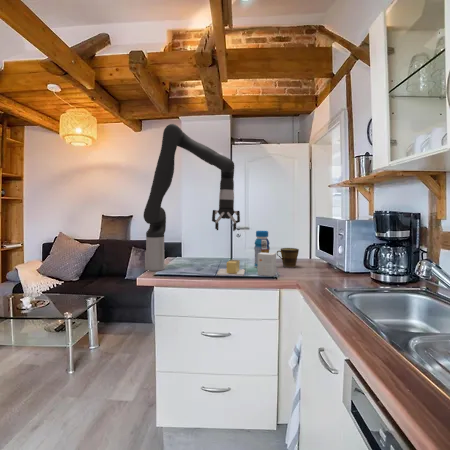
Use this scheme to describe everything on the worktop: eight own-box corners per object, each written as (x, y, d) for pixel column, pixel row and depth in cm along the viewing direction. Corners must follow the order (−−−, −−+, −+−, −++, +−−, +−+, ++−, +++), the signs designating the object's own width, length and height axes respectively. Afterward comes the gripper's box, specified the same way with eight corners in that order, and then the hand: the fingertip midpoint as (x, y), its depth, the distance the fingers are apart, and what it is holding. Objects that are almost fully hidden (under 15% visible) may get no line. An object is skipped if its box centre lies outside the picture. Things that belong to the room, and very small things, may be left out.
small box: (276, 274, 148) (276, 253, 147) (273, 276, 142) (273, 254, 142) (260, 272, 151) (260, 252, 150) (257, 275, 146) (257, 253, 145)
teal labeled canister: (251, 267, 165) (252, 231, 164) (257, 265, 172) (257, 230, 171) (266, 268, 161) (266, 231, 160) (271, 266, 169) (271, 230, 168)
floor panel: (217, 275, 145) (217, 273, 145) (219, 270, 157) (219, 268, 157) (243, 275, 144) (243, 273, 144) (244, 270, 156) (244, 269, 156)
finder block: (226, 272, 146) (226, 262, 146) (230, 269, 155) (230, 259, 155) (235, 273, 145) (235, 262, 145) (239, 269, 154) (239, 259, 154)
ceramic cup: (292, 264, 174) (292, 247, 174) (302, 267, 165) (302, 249, 164) (272, 265, 170) (272, 248, 170) (281, 269, 161) (281, 250, 160)
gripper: (211, 198, 151) (210, 230, 152) (239, 199, 149) (239, 231, 150) (213, 198, 158) (213, 229, 159) (240, 199, 156) (240, 230, 157)
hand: (225, 230), depth 154 cm, fingers open, 8 cm apart
